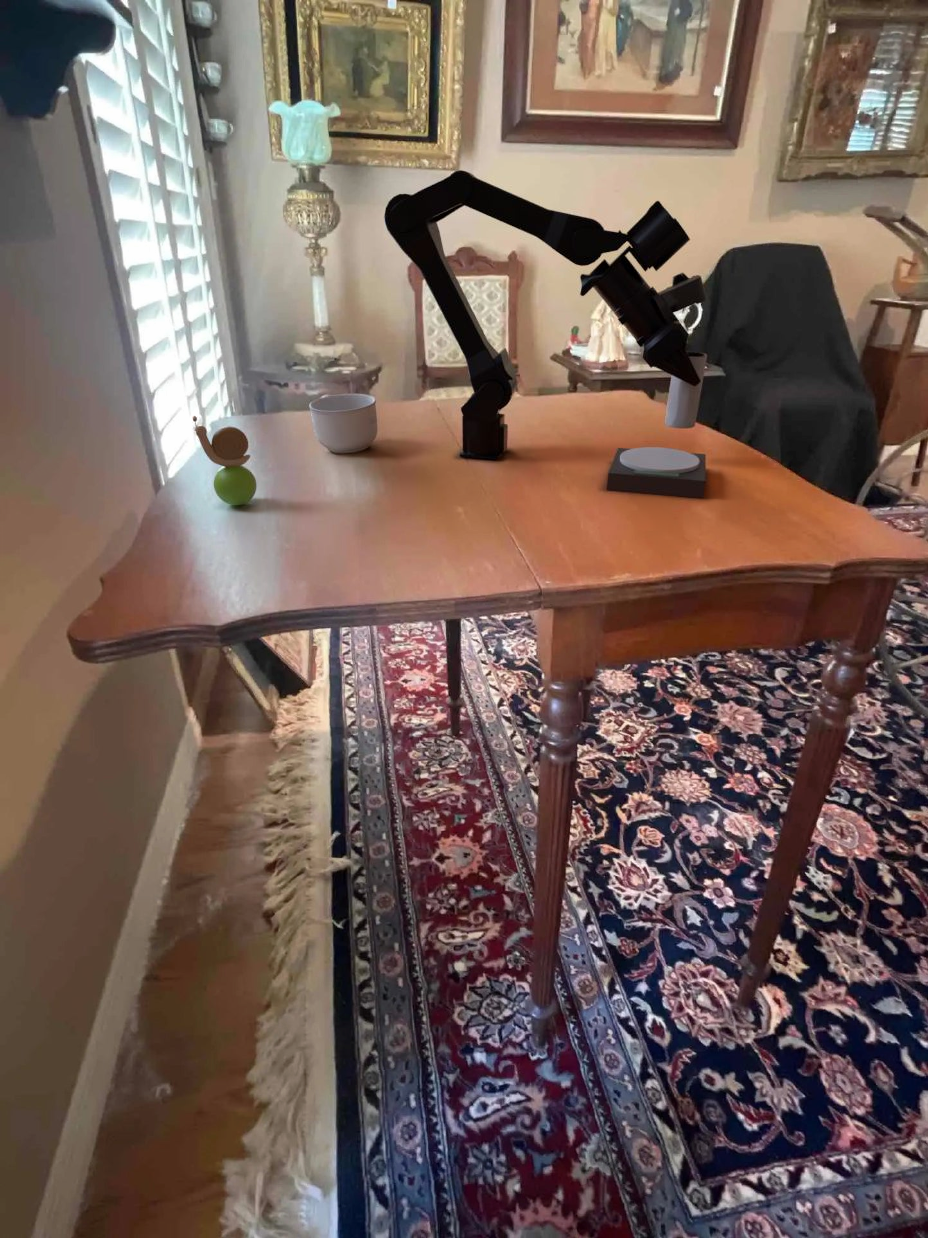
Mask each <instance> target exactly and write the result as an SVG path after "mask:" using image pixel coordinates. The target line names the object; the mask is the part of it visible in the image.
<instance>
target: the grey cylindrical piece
mask: <svg viewBox="0 0 928 1238" xmlns="http://www.w3.org/2000/svg"><path fill="white" fill-rule="evenodd" d="M686 352H687V354H688V356H689V358H690V360H691V362H692V364H693V366H694V368H695V370H696V372H697V374H698V376H699V378H700V380H701V382H700V383H699V384H698V385H697V386H693V385H691V384H689V383H687V382H685V381H683V380H681V379H679V378H677V377H675V376H673V375H671V377H670V384H669V390H668V397H667V403H666V409H665V415H664V416H665V417H664V425H665V426H667V427H670V428H673V429H693V428H695V427H696V423H697V417H698V411H699V405H700V400H701V394H702V389H703V382H704V377H705V371H706V365H707V360H708V354H707V353H704V352H701V351H687V350H686Z"/></svg>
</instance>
